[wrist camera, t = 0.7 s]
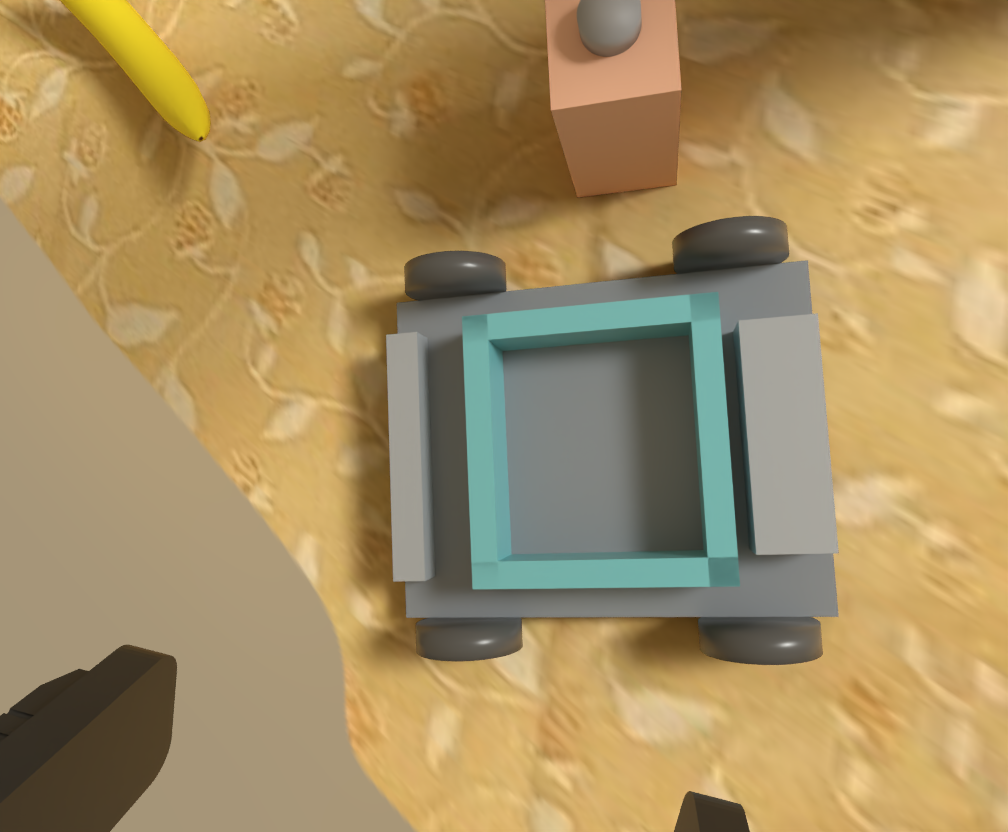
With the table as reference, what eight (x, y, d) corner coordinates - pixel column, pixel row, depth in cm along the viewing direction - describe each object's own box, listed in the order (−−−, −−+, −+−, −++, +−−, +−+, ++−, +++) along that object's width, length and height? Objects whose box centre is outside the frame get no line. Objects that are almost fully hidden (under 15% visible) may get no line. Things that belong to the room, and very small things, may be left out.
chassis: (406, 287, 38) (368, 260, 33) (799, 245, 34) (822, 206, 29) (417, 635, 36) (379, 660, 31) (832, 636, 32) (863, 665, 27)
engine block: (571, 87, 37) (539, -50, 27) (668, 71, 36) (671, -78, 26) (577, 197, 36) (546, 97, 27) (676, 185, 35) (682, 75, 26)
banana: (237, 196, 41) (162, 147, 35) (68, -4, 45) (-27, -80, 39) (272, 161, 41) (202, 104, 34) (98, -38, 44) (8, -120, 38)
